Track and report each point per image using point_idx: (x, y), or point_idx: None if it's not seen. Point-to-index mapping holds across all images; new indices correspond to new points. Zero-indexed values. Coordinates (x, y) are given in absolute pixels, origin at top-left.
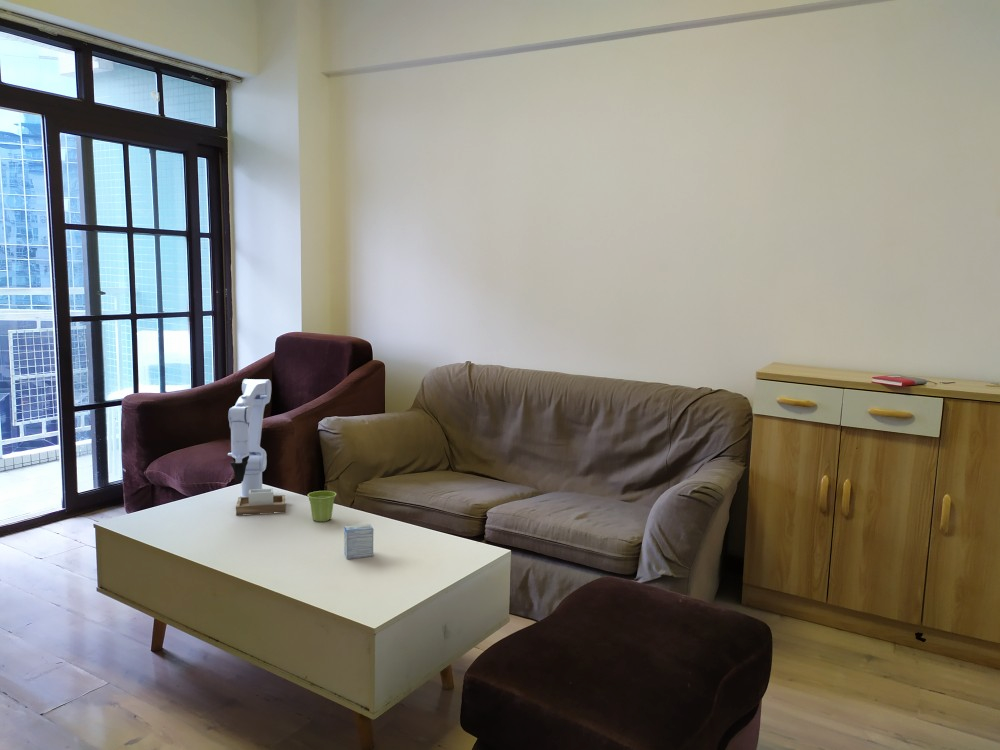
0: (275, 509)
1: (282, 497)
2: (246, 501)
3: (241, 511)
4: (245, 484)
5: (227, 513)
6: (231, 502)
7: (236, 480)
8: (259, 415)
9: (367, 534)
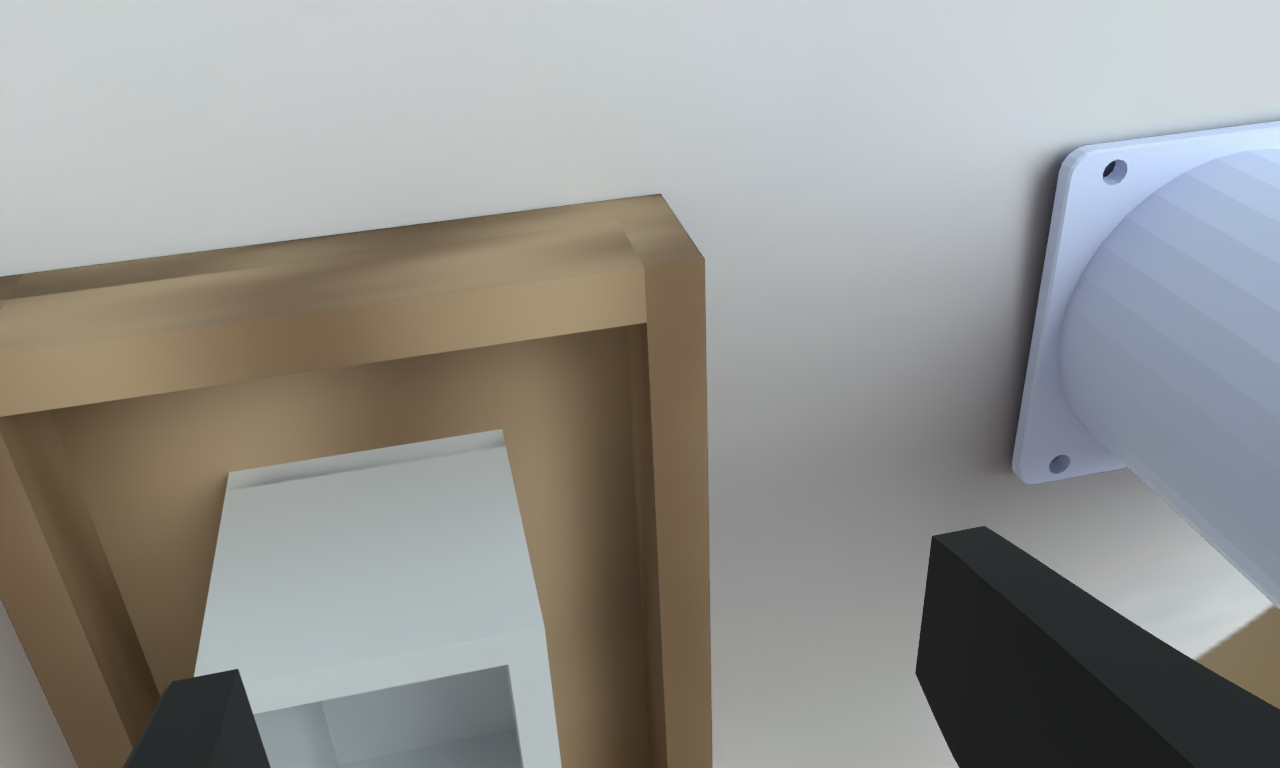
0: None
1: None
2: (635, 371)
3: None
4: (1265, 342)
5: (97, 82)
6: (899, 20)
7: (145, 726)
8: None
9: None
